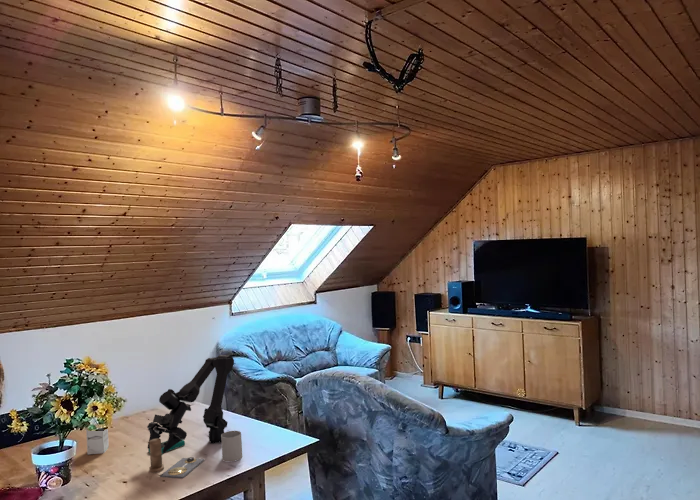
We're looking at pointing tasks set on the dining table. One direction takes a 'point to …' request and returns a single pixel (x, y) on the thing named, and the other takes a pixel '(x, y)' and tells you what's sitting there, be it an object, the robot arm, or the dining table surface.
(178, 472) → the gauge plate
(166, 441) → the digital multimeter
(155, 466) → the walnut post
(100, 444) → the supplement box
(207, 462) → the dining table surface
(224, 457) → the cup
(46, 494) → the dining table surface
